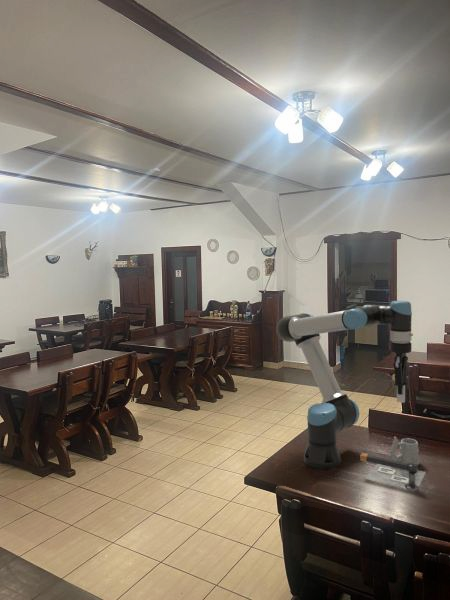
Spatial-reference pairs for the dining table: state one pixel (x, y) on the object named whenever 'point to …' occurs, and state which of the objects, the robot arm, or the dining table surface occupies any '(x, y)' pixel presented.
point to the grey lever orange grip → (389, 463)
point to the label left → (386, 471)
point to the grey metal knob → (412, 483)
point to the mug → (405, 451)
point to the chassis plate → (386, 477)
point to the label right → (400, 479)
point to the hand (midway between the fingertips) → (400, 401)
